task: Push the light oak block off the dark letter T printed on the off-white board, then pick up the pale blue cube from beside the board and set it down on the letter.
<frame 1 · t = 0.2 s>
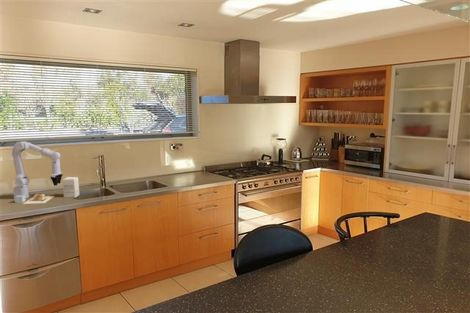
hand: (57, 184, 264), 10 cm above the kitchen counter, tool pointing down, fingers open, 7 cm apart
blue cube: (20, 202, 248), on the kitchen counter
letter board: (39, 200, 254), on the kitchen counter
supplement box: (71, 196, 266), on the kitchen counter
oak block: (39, 200, 253), point 1 cm above the kitchen counter, touching letter board
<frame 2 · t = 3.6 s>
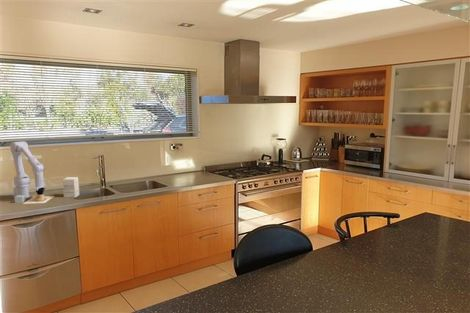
hand: (40, 197, 255), 2 cm above the kitchen counter, tool pointing down, fingers closed
oak block: (38, 200, 251), point 1 cm above the kitchen counter, touching gripper
everything else where it was.
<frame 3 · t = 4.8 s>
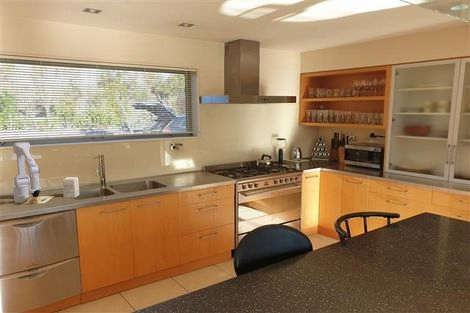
hand: (36, 200, 246), 2 cm above the kitchen counter, tool pointing down, fingers closed, pressing on oak block
oak block: (34, 203, 244), point 1 cm above the kitchen counter, tilted 5°, touching gripper, letter board
everything else where it was.
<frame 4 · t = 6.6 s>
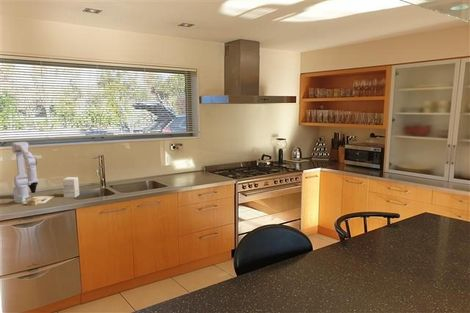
hand: (33, 192, 243), 8 cm above the kitchen counter, tool pointing down, fingers closed
oak block: (32, 204, 241), on the kitchen counter, tilted 6°, touching letter board
everything else where it was.
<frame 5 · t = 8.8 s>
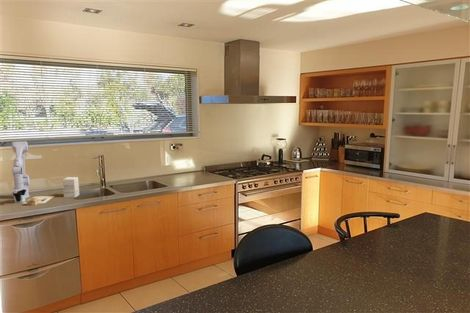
hand: (20, 200, 247), 1 cm above the kitchen counter, tool pointing down, fingers closed on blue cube, 5 cm apart
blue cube: (20, 202, 248), on the kitchen counter, touching gripper
everything else where it was.
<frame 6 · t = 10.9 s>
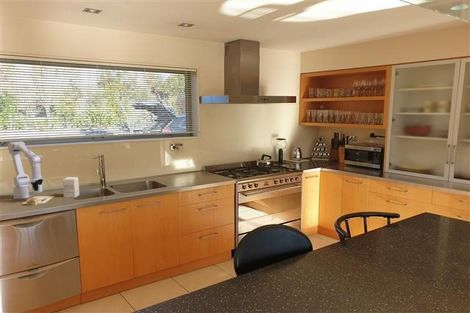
hand: (37, 189, 251), 8 cm above the kitchen counter, tool pointing down, fingers closed on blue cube, 5 cm apart
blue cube: (37, 191, 251), point 7 cm above the kitchen counter, touching gripper
everything else where it was.
when the fingers open (3 cm above the kitchen counter, at t = 12.5 s): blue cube stays where it is, resting on letter board.
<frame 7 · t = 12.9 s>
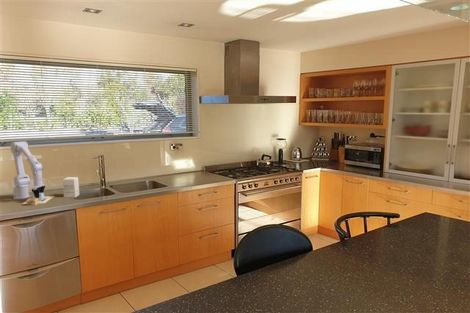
hand: (39, 196, 252), 3 cm above the kitchen counter, tool pointing down, fingers open, 7 cm apart
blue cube: (39, 200, 253), point 1 cm above the kitchen counter, touching letter board
everything else where it was.
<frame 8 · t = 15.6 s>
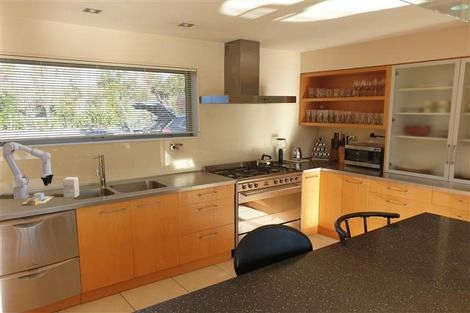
hand: (47, 184, 264), 9 cm above the kitchen counter, tool pointing down, fingers open, 7 cm apart
nothing on the kitchen counter moved.
at the end: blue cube 0.2 cm from the target spot on the letter board, point 0.5 cm above the letter board's base; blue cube tilted 0°; oak block moved 11.7 cm from its start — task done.
